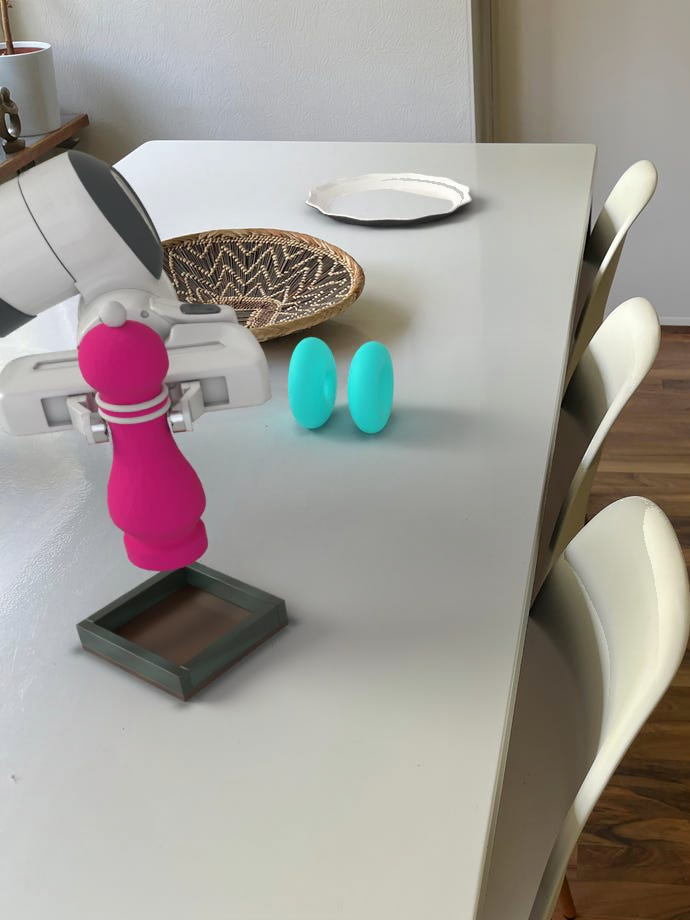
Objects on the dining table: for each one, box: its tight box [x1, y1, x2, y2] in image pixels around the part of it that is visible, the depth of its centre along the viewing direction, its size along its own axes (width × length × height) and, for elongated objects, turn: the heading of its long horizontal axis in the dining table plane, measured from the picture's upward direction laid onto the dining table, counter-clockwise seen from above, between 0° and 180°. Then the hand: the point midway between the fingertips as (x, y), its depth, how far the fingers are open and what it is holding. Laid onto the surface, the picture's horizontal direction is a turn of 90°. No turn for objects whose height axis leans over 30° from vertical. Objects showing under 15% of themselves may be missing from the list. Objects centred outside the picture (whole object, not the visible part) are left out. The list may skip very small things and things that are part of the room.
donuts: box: [287, 336, 395, 435], centre depth 114 cm, size 10×10×10 cm
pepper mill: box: [78, 300, 209, 572], centre depth 75 cm, size 7×7×20 cm
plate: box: [305, 172, 473, 228], centre depth 184 cm, size 29×29×2 cm
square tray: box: [75, 561, 289, 703], centre depth 86 cm, size 12×12×3 cm
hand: (139, 428), depth 73 cm, fingers closed on pepper mill, 4 cm apart
